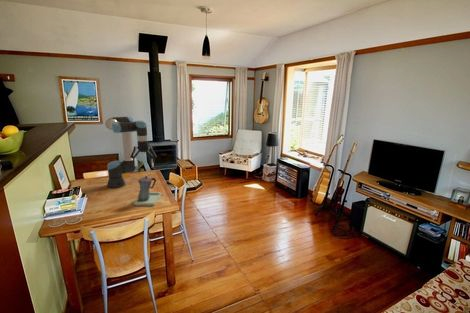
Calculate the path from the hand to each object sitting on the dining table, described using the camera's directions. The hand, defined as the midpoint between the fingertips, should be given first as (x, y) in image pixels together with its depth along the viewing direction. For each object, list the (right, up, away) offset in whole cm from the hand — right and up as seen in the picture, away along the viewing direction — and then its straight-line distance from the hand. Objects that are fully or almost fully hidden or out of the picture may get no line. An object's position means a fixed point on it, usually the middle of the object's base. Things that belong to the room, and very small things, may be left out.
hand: (144, 166), depth 194 cm
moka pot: (-3, -27, +7) cm, 28 cm away
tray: (+1, -29, +7) cm, 30 cm away
